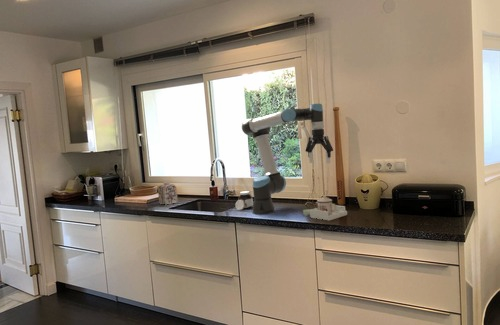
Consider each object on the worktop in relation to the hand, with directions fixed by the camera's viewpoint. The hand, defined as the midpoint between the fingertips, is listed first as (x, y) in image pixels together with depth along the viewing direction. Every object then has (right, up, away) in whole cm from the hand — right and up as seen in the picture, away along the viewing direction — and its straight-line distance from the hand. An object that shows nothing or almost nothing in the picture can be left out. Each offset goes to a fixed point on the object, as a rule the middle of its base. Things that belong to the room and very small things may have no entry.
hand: (319, 162), depth 240 cm
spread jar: (-48, -33, +35) cm, 68 cm away
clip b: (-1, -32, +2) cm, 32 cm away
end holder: (+4, -32, -8) cm, 33 cm away
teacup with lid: (+3, -32, -7) cm, 33 cm away
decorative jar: (-111, -34, +79) cm, 141 cm away
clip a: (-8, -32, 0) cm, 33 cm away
